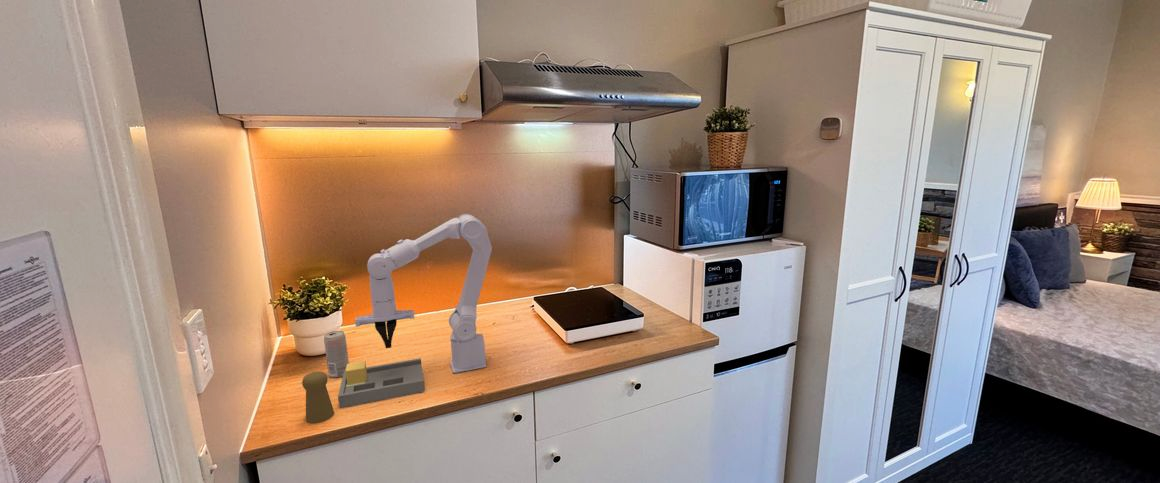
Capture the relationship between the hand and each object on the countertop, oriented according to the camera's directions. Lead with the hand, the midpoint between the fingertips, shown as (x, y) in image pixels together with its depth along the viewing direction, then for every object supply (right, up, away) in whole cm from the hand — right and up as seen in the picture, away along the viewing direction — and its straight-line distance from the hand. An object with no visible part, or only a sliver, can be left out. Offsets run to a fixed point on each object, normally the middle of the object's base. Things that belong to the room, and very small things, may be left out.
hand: (388, 346), depth 126 cm
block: (-8, -9, -2) cm, 12 cm away
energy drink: (-17, -9, +6) cm, 20 cm away
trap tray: (-1, -10, -2) cm, 11 cm away
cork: (-10, -14, -15) cm, 23 cm away
